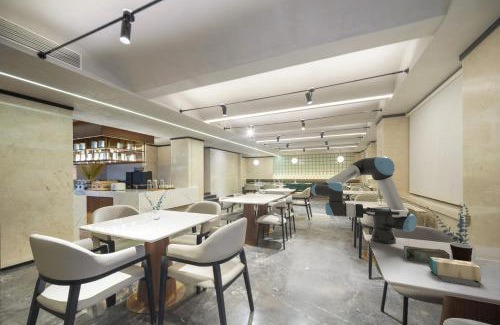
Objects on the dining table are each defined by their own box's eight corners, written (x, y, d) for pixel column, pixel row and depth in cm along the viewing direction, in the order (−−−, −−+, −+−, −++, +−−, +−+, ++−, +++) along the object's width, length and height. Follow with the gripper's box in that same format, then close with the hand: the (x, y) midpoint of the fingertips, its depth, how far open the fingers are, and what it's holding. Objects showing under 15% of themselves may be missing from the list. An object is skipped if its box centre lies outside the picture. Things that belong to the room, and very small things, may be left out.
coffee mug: (469, 269, 105) (467, 248, 106) (447, 262, 113) (446, 243, 113) (480, 265, 110) (478, 245, 110) (458, 259, 117) (457, 241, 118)
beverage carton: (403, 255, 124) (402, 244, 124) (445, 261, 116) (444, 249, 116) (406, 260, 117) (406, 248, 117) (451, 266, 108) (451, 253, 109)
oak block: (429, 256, 104) (472, 262, 97) (430, 269, 104) (473, 275, 97) (434, 261, 99) (480, 267, 92) (434, 274, 98) (481, 281, 92)
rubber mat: (429, 266, 108) (429, 265, 108) (460, 271, 103) (460, 269, 103) (442, 281, 93) (442, 279, 93) (479, 286, 88) (479, 285, 88)
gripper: (354, 215, 122) (403, 218, 112) (355, 219, 110) (410, 223, 100) (354, 202, 122) (402, 204, 113) (355, 205, 110) (409, 207, 101)
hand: (406, 213), depth 106 cm, fingers closed
